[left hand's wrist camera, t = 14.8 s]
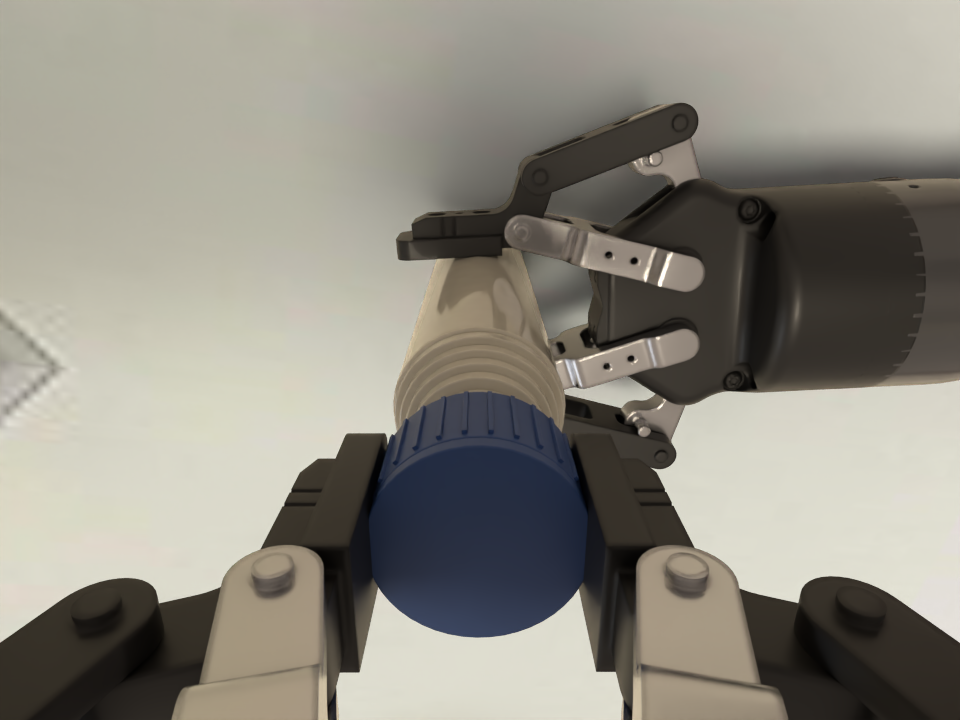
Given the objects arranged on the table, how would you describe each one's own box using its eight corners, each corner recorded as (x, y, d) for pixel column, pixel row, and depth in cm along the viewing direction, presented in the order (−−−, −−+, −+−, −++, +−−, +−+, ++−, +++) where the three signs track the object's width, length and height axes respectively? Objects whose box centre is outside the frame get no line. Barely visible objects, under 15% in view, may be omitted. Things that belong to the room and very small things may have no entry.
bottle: (529, 304, 30) (612, 608, 11) (445, 317, 30) (386, 638, 12) (517, 217, 29) (587, 400, 10) (428, 232, 29) (330, 439, 10)
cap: (557, 367, 11) (574, 419, 9) (593, 540, 13) (614, 618, 11) (355, 412, 12) (329, 471, 10) (410, 576, 13) (397, 658, 11)
